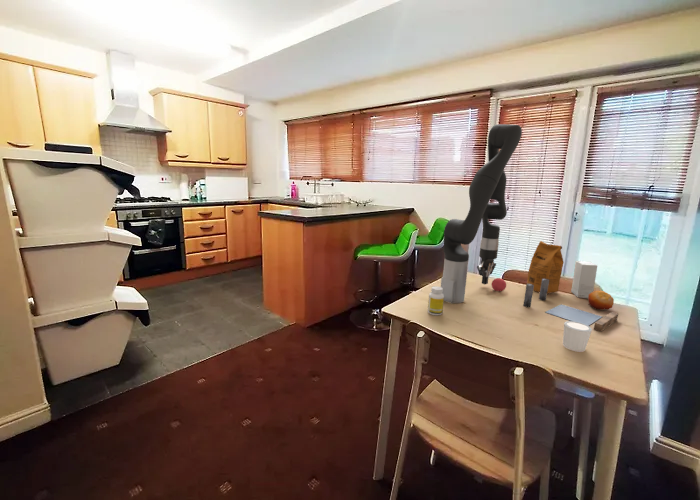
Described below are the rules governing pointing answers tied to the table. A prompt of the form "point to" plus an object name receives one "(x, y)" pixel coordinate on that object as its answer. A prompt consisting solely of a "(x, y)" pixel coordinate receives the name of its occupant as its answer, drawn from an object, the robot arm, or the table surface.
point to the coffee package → (546, 267)
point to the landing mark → (574, 314)
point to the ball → (498, 284)
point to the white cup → (576, 336)
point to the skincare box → (584, 278)
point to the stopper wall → (605, 321)
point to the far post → (543, 289)
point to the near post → (528, 295)
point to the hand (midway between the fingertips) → (484, 283)
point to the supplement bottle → (436, 301)
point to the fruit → (600, 300)
